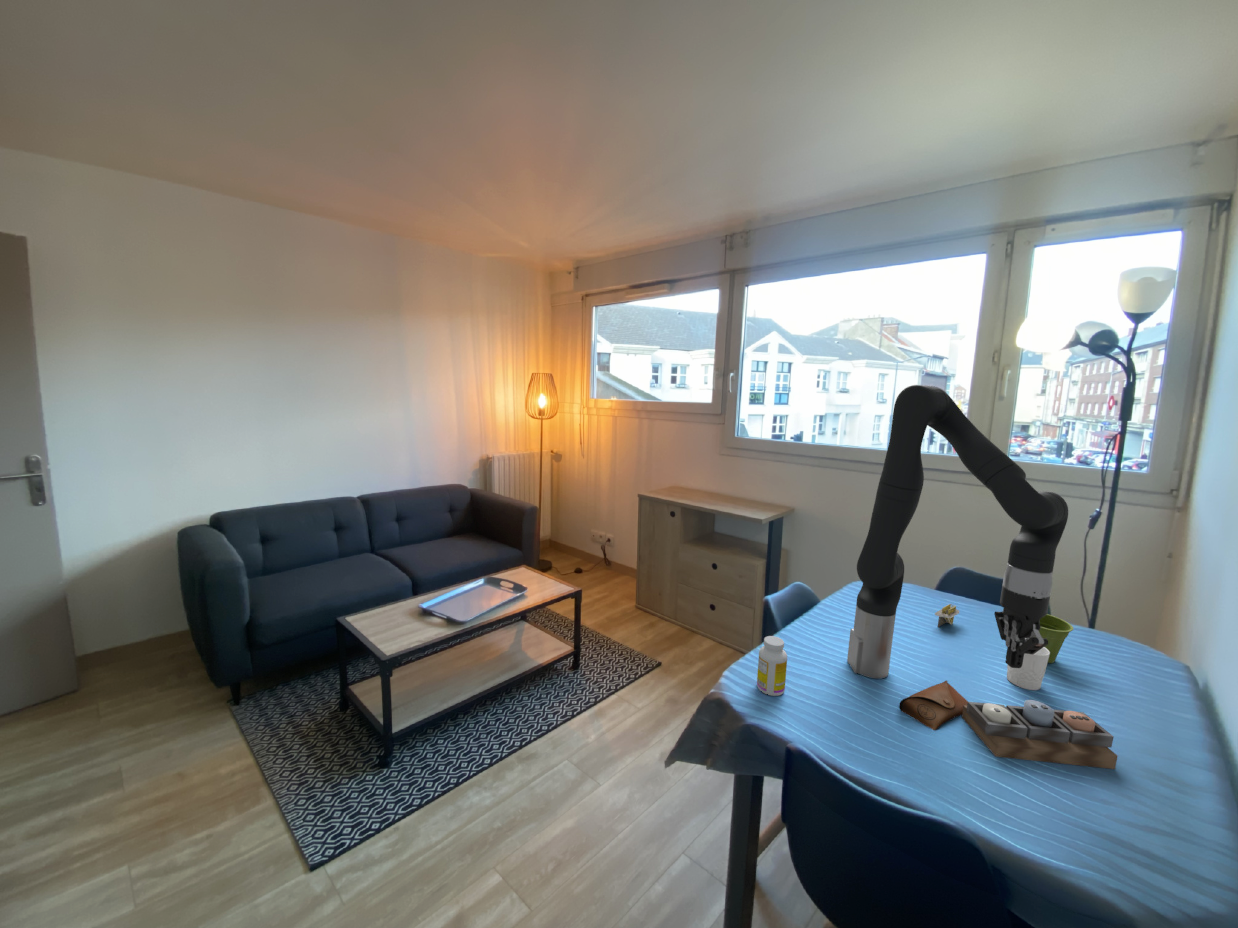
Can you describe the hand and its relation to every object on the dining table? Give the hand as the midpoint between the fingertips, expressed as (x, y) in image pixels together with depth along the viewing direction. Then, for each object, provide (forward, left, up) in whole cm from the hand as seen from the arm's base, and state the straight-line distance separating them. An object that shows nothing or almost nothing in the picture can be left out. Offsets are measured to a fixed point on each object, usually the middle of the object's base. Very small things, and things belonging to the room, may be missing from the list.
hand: (1013, 665), depth 101 cm
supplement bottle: (-47, +10, -17) cm, 51 cm away
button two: (+6, 0, -12) cm, 14 cm away
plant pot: (+32, +37, -17) cm, 52 cm away
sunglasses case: (-8, +9, -18) cm, 21 cm away
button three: (+14, 0, -14) cm, 20 cm away
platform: (+16, +53, -18) cm, 59 cm away
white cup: (+19, +23, -17) cm, 35 cm away
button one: (-2, 0, -14) cm, 14 cm away
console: (+6, 0, -17) cm, 18 cm away
